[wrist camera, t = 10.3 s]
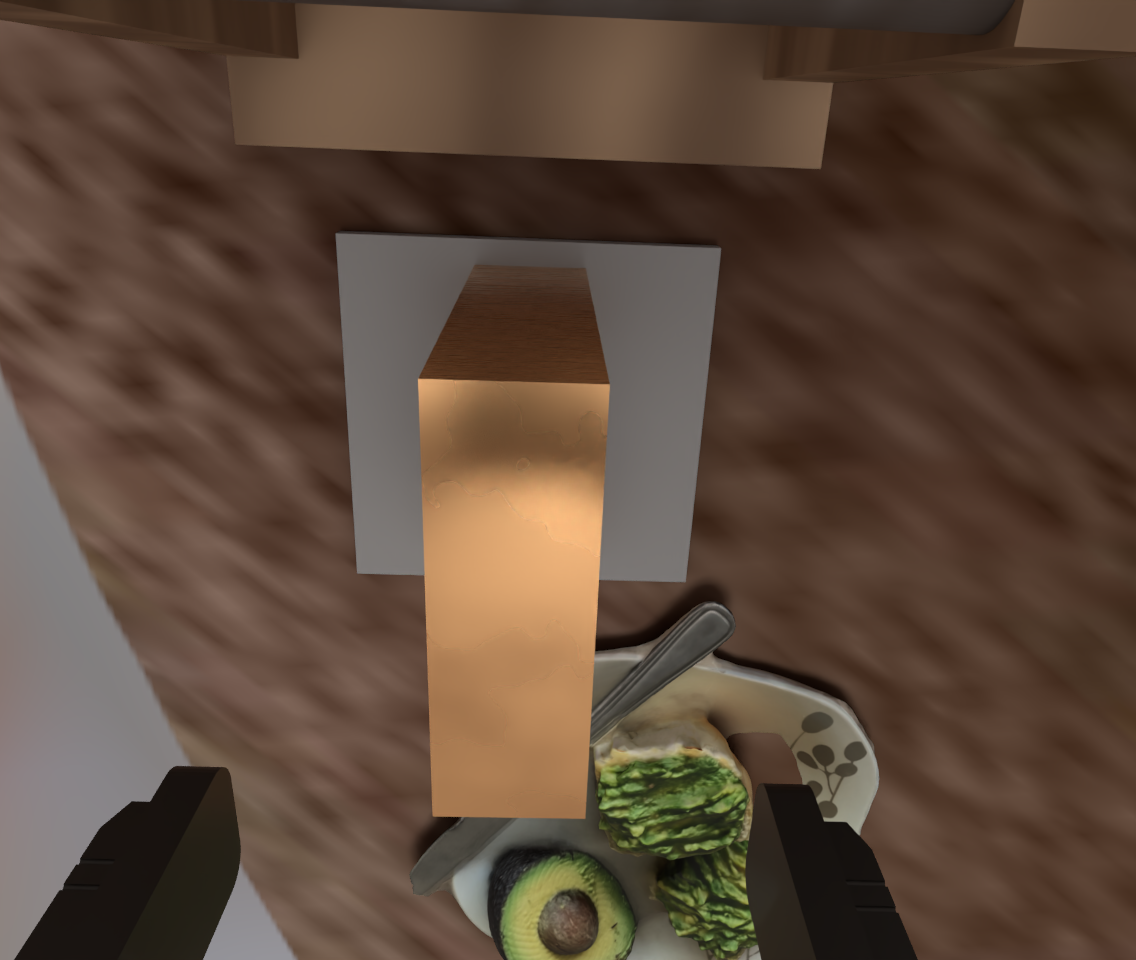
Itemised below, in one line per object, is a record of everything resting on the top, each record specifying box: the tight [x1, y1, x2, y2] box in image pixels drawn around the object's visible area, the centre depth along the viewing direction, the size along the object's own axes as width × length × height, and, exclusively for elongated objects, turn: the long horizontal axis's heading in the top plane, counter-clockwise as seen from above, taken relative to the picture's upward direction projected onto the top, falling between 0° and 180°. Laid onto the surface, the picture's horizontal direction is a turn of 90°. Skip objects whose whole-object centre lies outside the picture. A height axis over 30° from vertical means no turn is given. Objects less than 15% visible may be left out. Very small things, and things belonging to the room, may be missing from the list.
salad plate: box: [409, 601, 879, 960], centre depth 35 cm, size 19×18×5 cm
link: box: [418, 265, 610, 819], centre depth 24 cm, size 4×10×12 cm, turn 178°
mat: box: [336, 231, 721, 582], centre depth 30 cm, size 12×12×1 cm
